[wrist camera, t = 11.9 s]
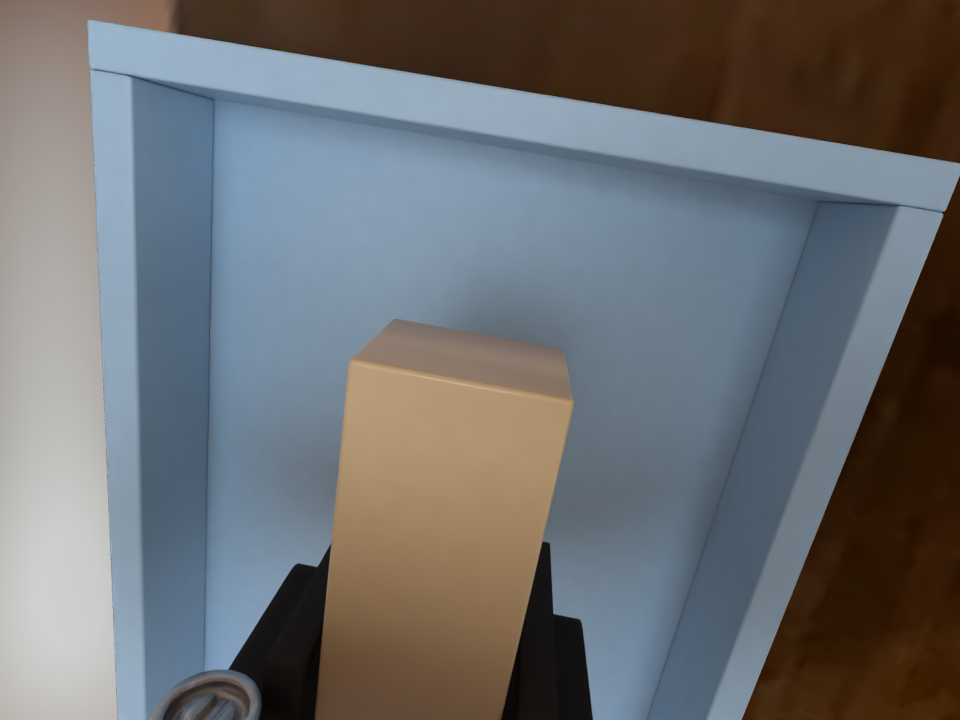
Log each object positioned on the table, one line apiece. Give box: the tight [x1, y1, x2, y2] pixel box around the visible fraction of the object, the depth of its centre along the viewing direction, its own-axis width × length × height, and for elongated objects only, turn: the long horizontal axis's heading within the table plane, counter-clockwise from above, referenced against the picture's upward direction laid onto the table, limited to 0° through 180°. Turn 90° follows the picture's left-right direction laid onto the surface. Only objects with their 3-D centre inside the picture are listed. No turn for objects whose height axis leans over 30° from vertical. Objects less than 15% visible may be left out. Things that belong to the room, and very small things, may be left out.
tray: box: [87, 20, 960, 720], centre depth 14 cm, size 23×13×3 cm, turn 171°
